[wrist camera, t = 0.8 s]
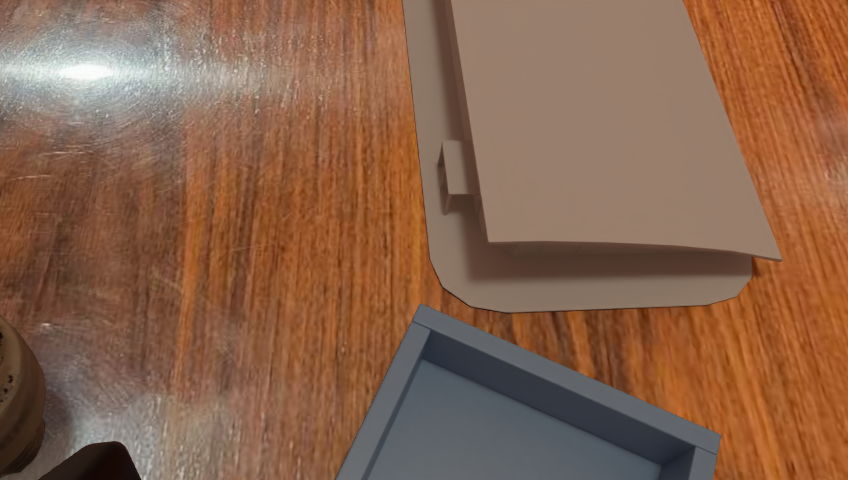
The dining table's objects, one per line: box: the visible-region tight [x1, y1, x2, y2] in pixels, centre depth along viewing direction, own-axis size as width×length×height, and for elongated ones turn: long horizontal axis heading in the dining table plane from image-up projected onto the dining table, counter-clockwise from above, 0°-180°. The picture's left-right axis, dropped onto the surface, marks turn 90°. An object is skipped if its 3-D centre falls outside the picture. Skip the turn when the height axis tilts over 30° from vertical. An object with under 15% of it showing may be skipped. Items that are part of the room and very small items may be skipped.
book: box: [402, 0, 782, 313], centre depth 35 cm, size 15×23×4 cm, turn 5°
